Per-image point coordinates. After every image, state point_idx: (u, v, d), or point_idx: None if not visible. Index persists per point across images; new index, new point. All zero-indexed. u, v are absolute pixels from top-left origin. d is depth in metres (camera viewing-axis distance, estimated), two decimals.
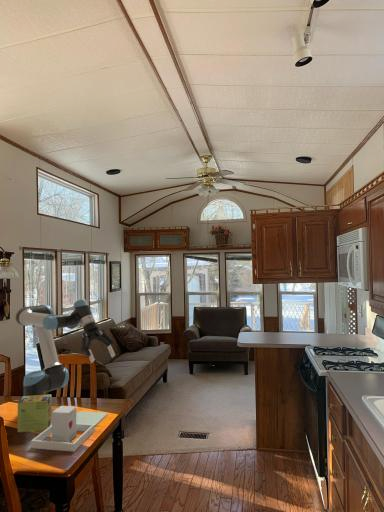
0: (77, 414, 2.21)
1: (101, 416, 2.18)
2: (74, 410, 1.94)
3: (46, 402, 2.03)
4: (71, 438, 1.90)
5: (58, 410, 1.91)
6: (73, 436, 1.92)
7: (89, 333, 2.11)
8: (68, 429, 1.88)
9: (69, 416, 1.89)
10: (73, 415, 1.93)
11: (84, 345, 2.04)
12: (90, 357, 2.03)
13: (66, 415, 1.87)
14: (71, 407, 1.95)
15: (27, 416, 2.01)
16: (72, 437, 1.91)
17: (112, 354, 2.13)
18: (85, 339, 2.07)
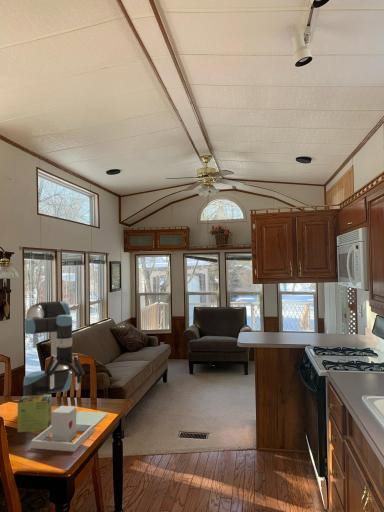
0: (77, 414, 2.21)
1: (101, 416, 2.18)
2: (74, 410, 1.94)
3: (46, 402, 2.03)
4: (71, 438, 1.90)
5: (58, 410, 1.91)
6: (73, 436, 1.92)
7: (58, 357, 1.93)
8: (68, 429, 1.88)
9: (69, 416, 1.89)
10: (73, 415, 1.93)
11: (47, 370, 1.93)
12: None
13: (66, 415, 1.87)
14: (71, 407, 1.95)
15: (27, 416, 2.01)
16: (72, 437, 1.91)
17: None
18: (50, 363, 1.93)
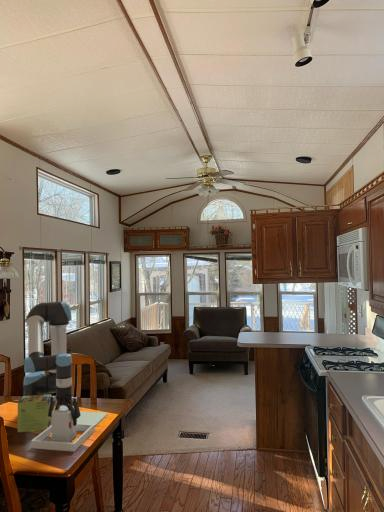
0: None
1: (101, 416, 2.18)
2: None
3: (46, 402, 2.03)
4: (71, 438, 1.90)
5: (58, 410, 1.91)
6: (73, 436, 1.92)
7: (57, 397, 1.92)
8: (68, 428, 1.88)
9: (69, 416, 1.89)
10: None
11: (49, 412, 1.92)
12: None
13: (66, 415, 1.87)
14: None
15: (27, 416, 2.02)
16: (72, 437, 1.91)
17: None
18: (51, 405, 1.92)
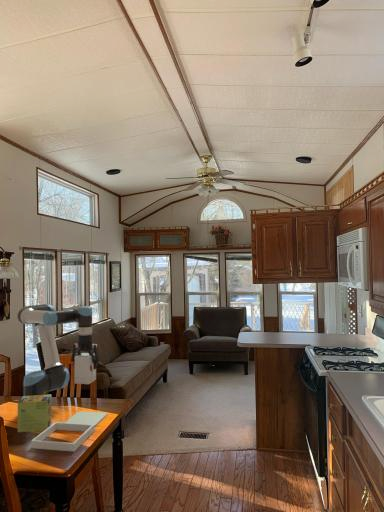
0: (77, 414, 2.21)
1: (101, 416, 2.18)
2: None
3: (46, 402, 2.03)
4: (92, 380, 2.14)
5: (80, 355, 2.15)
6: (93, 379, 2.16)
7: (79, 344, 2.16)
8: (89, 371, 2.12)
9: (90, 360, 2.12)
10: None
11: (72, 357, 2.16)
12: None
13: (87, 359, 2.11)
14: None
15: (27, 416, 2.01)
16: (92, 379, 2.15)
17: None
18: (74, 351, 2.16)
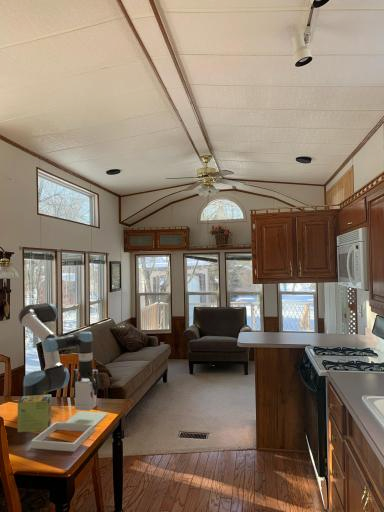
0: (77, 414, 2.21)
1: (101, 416, 2.18)
2: None
3: (46, 402, 2.03)
4: (92, 406, 2.14)
5: (81, 381, 2.14)
6: (94, 405, 2.16)
7: (80, 370, 2.16)
8: (90, 397, 2.12)
9: (91, 386, 2.12)
10: None
11: (72, 383, 2.16)
12: None
13: (88, 385, 2.11)
14: None
15: (27, 416, 2.02)
16: (93, 405, 2.15)
17: None
18: (74, 377, 2.16)
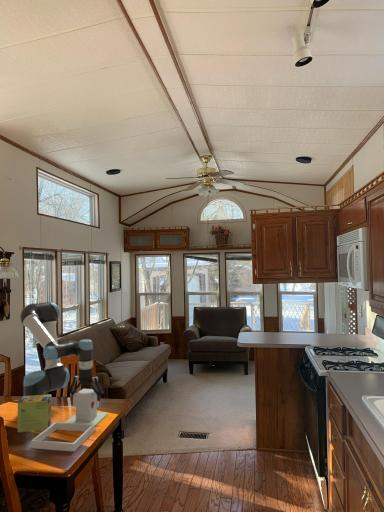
0: None
1: (101, 416, 2.18)
2: None
3: (46, 402, 2.03)
4: (93, 417, 2.14)
5: (81, 392, 2.14)
6: (94, 415, 2.16)
7: (80, 378, 2.15)
8: (91, 408, 2.12)
9: (91, 397, 2.12)
10: (94, 397, 2.16)
11: (70, 389, 2.16)
12: None
13: (88, 396, 2.11)
14: (92, 390, 2.18)
15: (27, 416, 2.01)
16: (93, 416, 2.15)
17: None
18: (73, 383, 2.16)
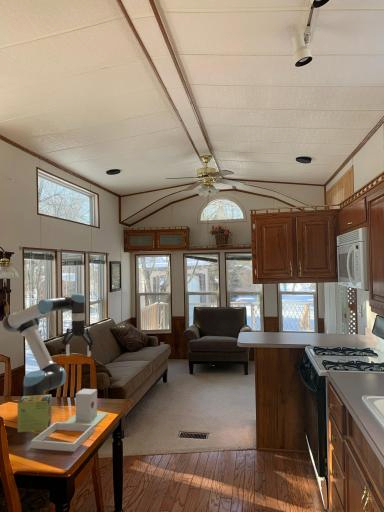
0: None
1: (101, 416, 2.18)
2: (95, 392, 2.17)
3: (46, 402, 2.03)
4: (93, 417, 2.14)
5: (81, 392, 2.14)
6: (94, 415, 2.16)
7: (72, 329, 2.29)
8: (91, 408, 2.12)
9: (91, 397, 2.12)
10: (94, 397, 2.16)
11: (63, 340, 2.29)
12: None
13: (88, 396, 2.11)
14: (92, 390, 2.18)
15: (27, 416, 2.02)
16: (93, 416, 2.15)
17: None
18: (66, 335, 2.29)
